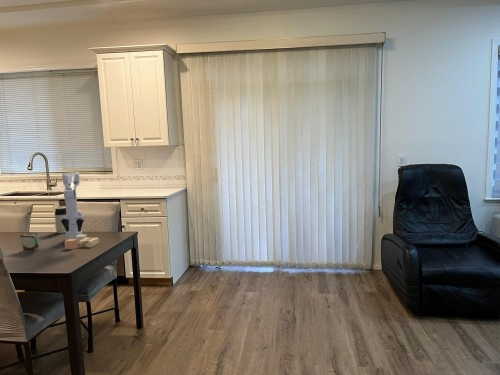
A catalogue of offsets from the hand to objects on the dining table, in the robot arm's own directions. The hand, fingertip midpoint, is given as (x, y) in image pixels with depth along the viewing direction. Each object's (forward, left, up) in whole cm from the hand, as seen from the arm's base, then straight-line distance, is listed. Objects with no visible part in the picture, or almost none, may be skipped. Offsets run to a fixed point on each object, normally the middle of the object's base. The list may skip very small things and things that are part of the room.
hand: (73, 231), depth 222 cm
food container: (-22, -7, -10) cm, 26 cm away
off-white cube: (-1, +9, -10) cm, 13 cm away
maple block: (+7, +5, -10) cm, 13 cm away
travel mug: (-33, +34, -10) cm, 48 cm away
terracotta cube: (-1, -1, -10) cm, 10 cm away
